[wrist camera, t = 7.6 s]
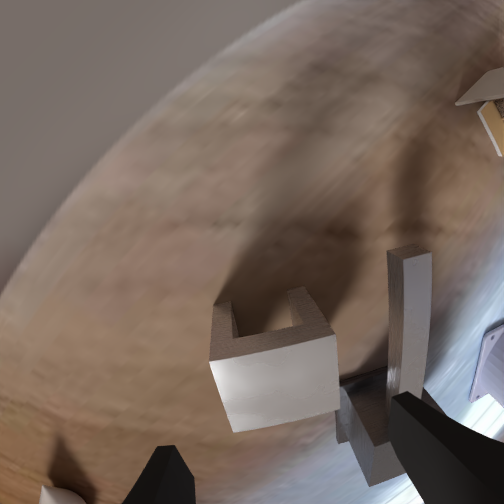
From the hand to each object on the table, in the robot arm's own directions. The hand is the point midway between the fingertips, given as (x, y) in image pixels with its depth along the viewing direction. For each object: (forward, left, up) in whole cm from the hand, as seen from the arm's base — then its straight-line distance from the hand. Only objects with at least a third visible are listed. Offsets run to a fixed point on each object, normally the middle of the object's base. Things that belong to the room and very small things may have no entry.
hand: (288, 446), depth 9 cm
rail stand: (-7, +4, -10) cm, 13 cm away
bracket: (0, +1, -10) cm, 10 cm away
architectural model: (-18, -12, -10) cm, 24 cm away
